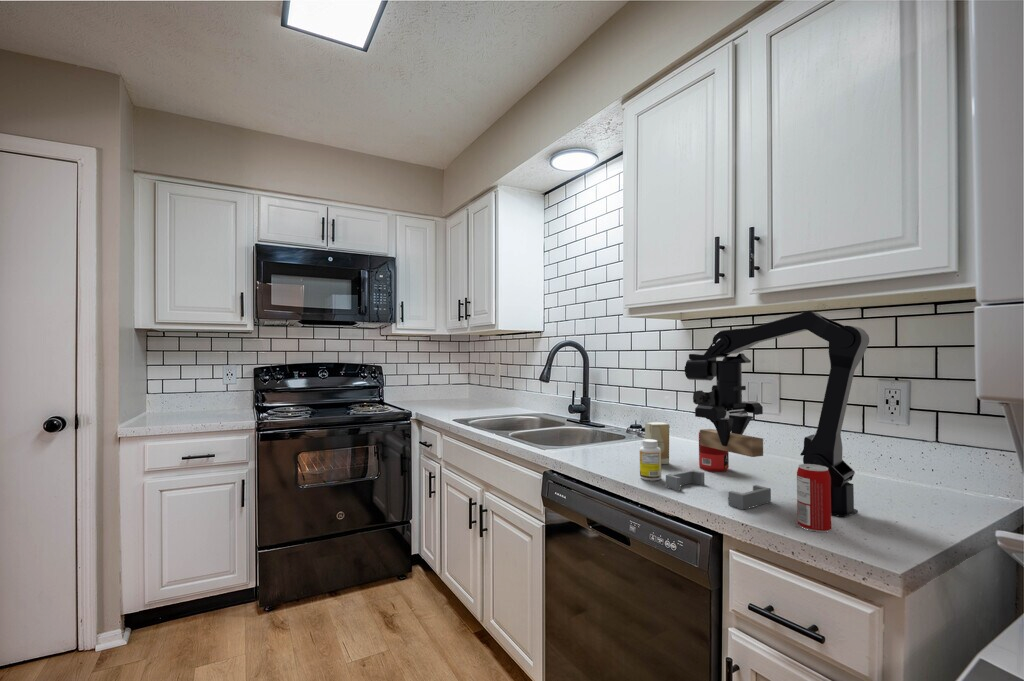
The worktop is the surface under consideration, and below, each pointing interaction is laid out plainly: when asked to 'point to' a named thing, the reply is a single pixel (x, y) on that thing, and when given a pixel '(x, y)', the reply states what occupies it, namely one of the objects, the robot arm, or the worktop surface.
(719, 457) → the canned food
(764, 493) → the end cap
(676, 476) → the end cap
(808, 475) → the soda can
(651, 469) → the supplement bottle
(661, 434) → the skincare box
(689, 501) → the worktop surface
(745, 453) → the slat
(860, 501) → the worktop surface
